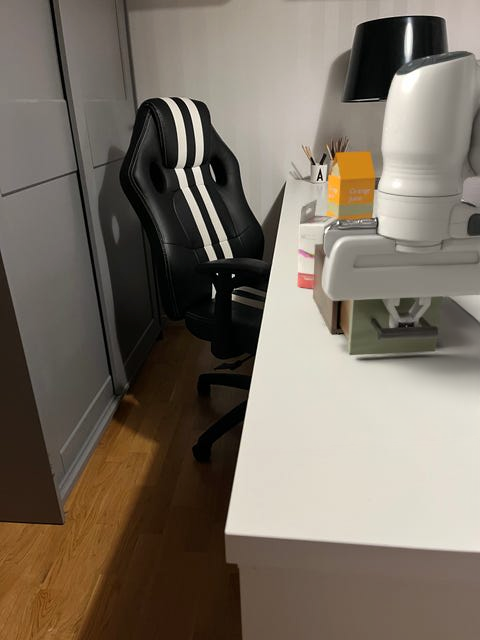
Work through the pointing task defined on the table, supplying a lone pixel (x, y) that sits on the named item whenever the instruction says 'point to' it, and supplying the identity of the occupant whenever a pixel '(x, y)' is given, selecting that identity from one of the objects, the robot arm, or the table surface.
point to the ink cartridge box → (310, 241)
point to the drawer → (387, 327)
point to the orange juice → (351, 186)
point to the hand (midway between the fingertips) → (402, 328)
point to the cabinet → (322, 301)
